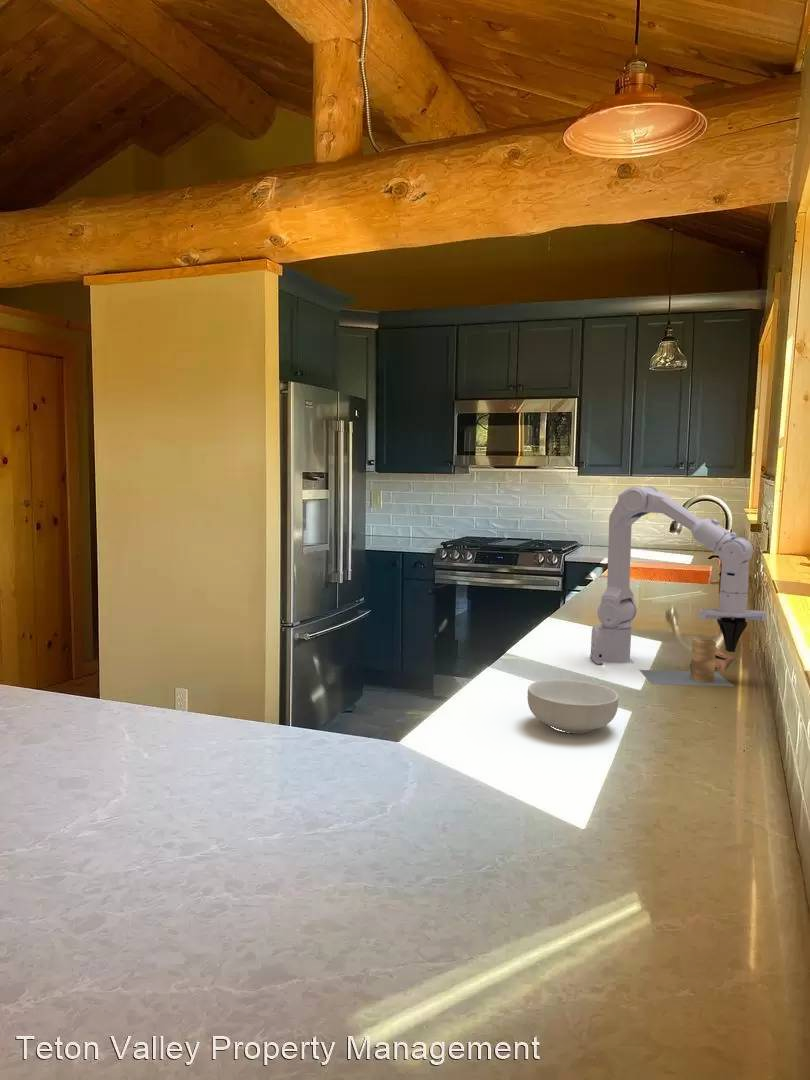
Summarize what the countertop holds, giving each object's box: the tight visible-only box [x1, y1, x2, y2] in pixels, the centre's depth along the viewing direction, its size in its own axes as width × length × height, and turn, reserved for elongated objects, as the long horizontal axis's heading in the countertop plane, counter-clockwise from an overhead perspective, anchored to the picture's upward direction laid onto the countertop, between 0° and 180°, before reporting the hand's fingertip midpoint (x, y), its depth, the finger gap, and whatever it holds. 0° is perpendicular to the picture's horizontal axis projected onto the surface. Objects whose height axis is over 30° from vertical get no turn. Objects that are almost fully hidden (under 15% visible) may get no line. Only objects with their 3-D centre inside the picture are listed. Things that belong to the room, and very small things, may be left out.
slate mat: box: [639, 669, 734, 687], centre depth 184 cm, size 18×12×1 cm, turn 87°
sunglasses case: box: [689, 647, 736, 672], centre depth 198 cm, size 18×7×7 cm, turn 151°
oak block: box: [690, 638, 717, 682], centre depth 182 cm, size 4×4×9 cm
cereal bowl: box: [527, 679, 620, 735], centre depth 150 cm, size 17×17×7 cm
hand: (730, 650), depth 182 cm, fingers closed
